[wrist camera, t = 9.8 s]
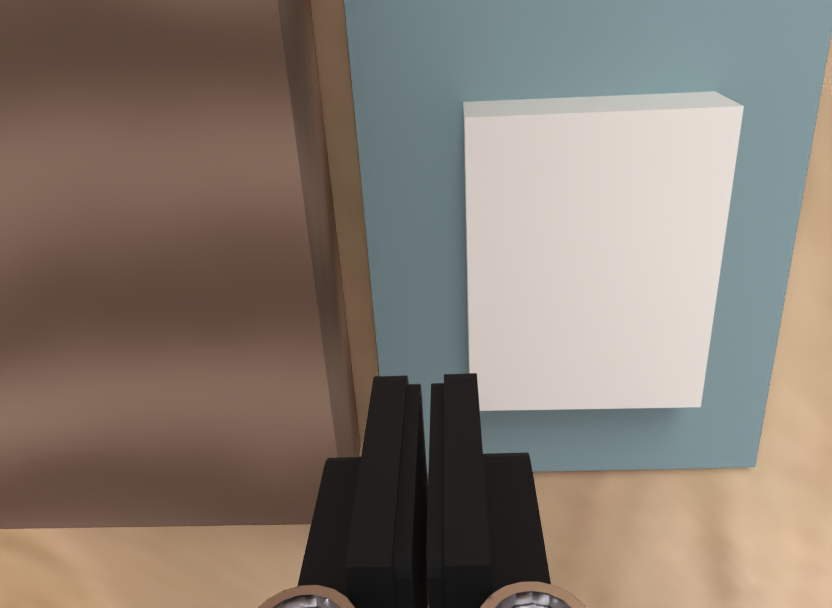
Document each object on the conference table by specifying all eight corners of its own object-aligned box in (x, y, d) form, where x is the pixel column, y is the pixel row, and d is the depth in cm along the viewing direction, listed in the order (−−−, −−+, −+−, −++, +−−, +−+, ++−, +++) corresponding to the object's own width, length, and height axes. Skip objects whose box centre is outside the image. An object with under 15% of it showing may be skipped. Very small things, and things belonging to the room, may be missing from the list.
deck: (-117, -10, 20) (-239, -2, 17) (305, -38, 20) (273, -35, 16) (43, 453, 27) (-19, 529, 24) (360, 446, 27) (346, 523, 23)
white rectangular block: (744, 106, 18) (715, 91, 20) (464, 117, 19) (463, 101, 21) (700, 407, 22) (680, 370, 24) (470, 411, 23) (468, 373, 25)
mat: (330, -172, 18) (327, -175, 18) (866, -214, 17) (875, -218, 17) (389, 467, 27) (388, 474, 27) (750, 460, 26) (755, 467, 26)
